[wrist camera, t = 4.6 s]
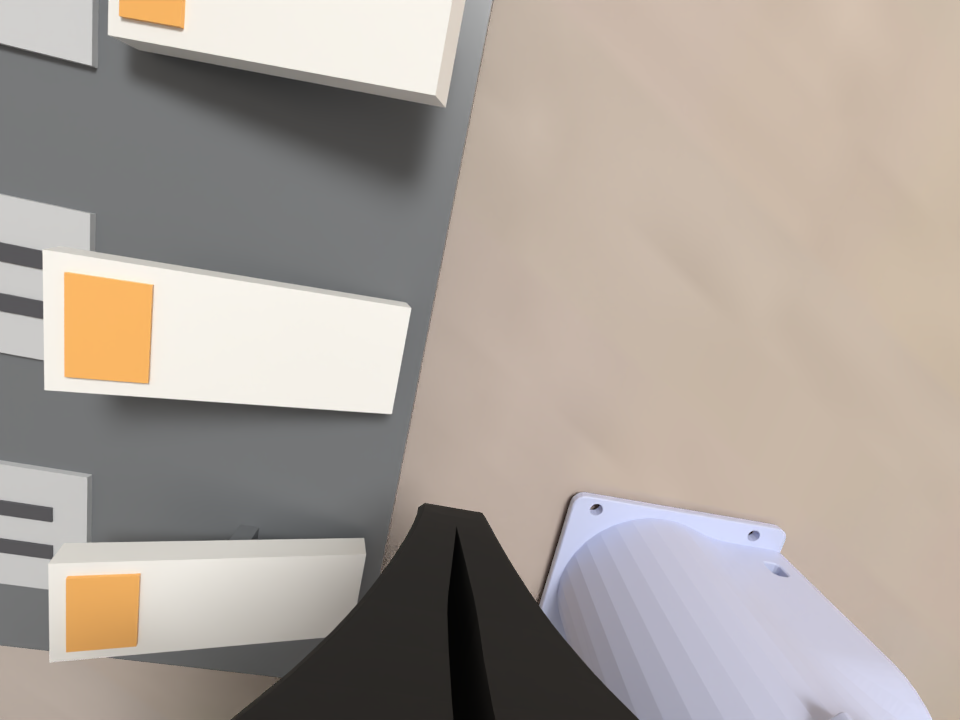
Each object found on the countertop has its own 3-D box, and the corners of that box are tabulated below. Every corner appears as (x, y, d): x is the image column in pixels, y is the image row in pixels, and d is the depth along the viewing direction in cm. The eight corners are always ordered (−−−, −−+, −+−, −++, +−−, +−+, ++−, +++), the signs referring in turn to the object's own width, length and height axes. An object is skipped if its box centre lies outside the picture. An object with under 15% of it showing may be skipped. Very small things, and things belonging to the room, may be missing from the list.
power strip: (509, -79, 14) (529, -194, 10) (371, 621, 20) (352, 710, 17) (0, -236, 12) (-198, -441, 9) (23, 576, 19) (-85, 662, 15)
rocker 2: (364, 538, 15) (366, 556, 15) (349, 615, 16) (351, 637, 15) (64, 542, 13) (45, 566, 12) (64, 637, 13) (47, 665, 13)
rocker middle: (405, 302, 14) (412, 308, 13) (387, 403, 14) (392, 415, 14) (60, 245, 11) (39, 249, 10) (61, 378, 11) (42, 391, 10)
